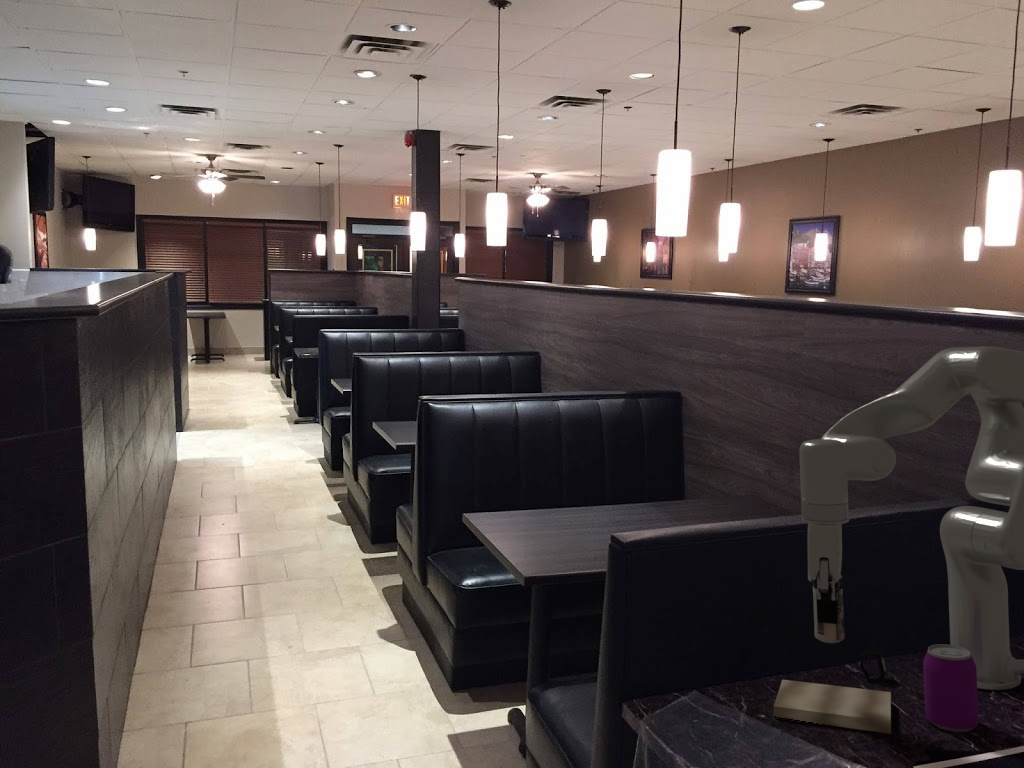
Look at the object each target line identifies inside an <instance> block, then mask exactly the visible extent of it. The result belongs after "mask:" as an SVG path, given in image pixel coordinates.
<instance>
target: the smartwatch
mask: <svg viewBox="0 0 1024 768" xmlns="http://www.w3.org/2000/svg"><path fill="white" fill-rule="evenodd" d="M867 655H871V656H872V655H873V656H875V657H876V663H877V666H878V670H879V673H880V675H877V676H878V679H879V680H882V679H883V678H884V677H885V676H886V674H888V673H887V672H888V671H887V664H886V661H885V658H884V656H883V655H882V654H881V653H880V652H879V651H877V650H866V651H864V652H863V653H861V654H860V655H858V658H857V664H858V666H859V667H860V668H861V670H862V673H863V674H864V676H866V678H867V679H869V675H871V674H869V673H868V671H867V670H866V669H865V666H864V664H863V662H862V657H864V656H867Z"/></svg>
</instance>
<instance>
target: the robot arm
mask: <svg viewBox="0 0 1024 768" xmlns="http://www.w3.org/2000/svg"><path fill="white" fill-rule="evenodd" d="M968 395H971V397H972V398H973V400H974V402H975V404H976V406H977V409H978V412H979V416H980V429H979V433H978V436H977V440H976V442H975V443H976V444H975V447H974V450H973V453H972V455H971V459H970V462H969V465H968V469H967V472H966V476H965V481H964V482H965V483H964V484H965V489H966V491H967V493H968V494H969V495H970V496H971V497H973V498H974V499H976V500H979V501H982V502H984V503H985V502H986V503H990V504H995V505H1002V506H1005V507H1006V506H1007V507H1009V509H1008V511H1007V512H1006V511H1002V510H996V509H994V508H993V509H992V508H986V507H981V506H972V505H960V506H956V507H954V508H952V509H950V510H948V511H947V512H945V514H944V515H943V517H942V519H941V521H940V525H939V536H940V541H941V546H942V549H943V553H944V557H945V561H946V562H945V563H946V571H947V584H948V585H947V587H948V590H947V591H948V611H949V614H948V616H949V641H950V644H949V645H954V646H959V647H962V648H965V649H967V650H969V651H970V653H971V656H972V658H973V660H974V662H975V665H976V667H977V689H978V690H979V689H980V690H990V691H1001V690H1004V691H1005V690H1010V689H1014V688H1017V687H1019V686H1020V685H1021V683H1022V676H1021V674H1024V659H1016V657H1013V655H1012V652H1011V648H1010V624H1009V623H1010V621H1009V619H1010V618H1009V589H1008V582H1007V578H1006V575H1005V573H1004V570H1003V567H1004V568H1008V569H1013V570H1016V571H1017V570H1018V571H1019V570H1020V571H1024V406H1023V404H1022V403H1024V350H1016V349H1012V348H1011V349H1010V348H1005V347H999V346H989V345H987V346H986V345H985V346H984V345H983V346H982V345H981V346H980V345H979V346H958V347H957V346H956V347H948V348H946V349H942V350H940V351H939V352H937V353H935V354H934V355H933V356H932V357H931V358H929V360H927V362H925V363H924V364H923V365H922V366H921V367H920V368H919V369H918V370H916V371H915V372H914V373H913V374H912V375H911V376H909V377H908V379H906V380H905V381H904V382H903V383H902V384H900V386H899V387H898V388H896V389H895V390H893V391H892V392H890V393H888V394H886V395H883V396H881V397H879V398H876V399H875V400H872V401H871V402H869V403H867V404H864V405H862V406H860V407H858V408H856V409H854V410H853V411H851V412H849V413H847V414H846V415H845V416H843V417H842V418H840V419H839V420H838V421H837V422H836V423H835V424H833V426H831V427H830V428H829V429H828V430H827V431H826V432H825V433H824V434H823V435H822V437H820V438H818V439H808V440H805V441H803V442H802V443H800V446H799V452H798V453H799V475H800V476H799V478H800V505H801V507H800V509H801V522H804V523H807V580H808V581H809V582H812V583H813V580H815V578H816V576H817V621H818V622H819V623H830V624H837V623H838V611H837V600H835V583H836V582H838V581H839V578H840V574H841V572H842V561H843V539H842V538H843V532H842V531H843V529H842V525H843V524H846V523H849V521H850V516H849V515H850V514H849V509H850V508H849V491H848V490H849V489H848V488H849V487H848V483H849V482H848V481H865V482H872V481H879V480H882V479H884V478H886V477H888V476H889V474H891V473H892V471H893V470H894V468H895V467H896V464H897V463H896V462H897V456H896V452H895V450H894V449H893V447H892V446H891V444H889V442H887V441H885V440H884V439H887V438H892V437H896V436H900V435H908V434H911V433H915V432H918V431H921V430H924V429H927V428H929V427H931V426H932V425H934V424H935V423H936V422H937V421H938V420H939V419H940V418H941V417H943V416H944V414H945V413H947V412H948V411H949V410H950V409H951V408H952V407H954V406H955V404H957V403H958V402H959V401H960V400H961V399H962V398H964V397H965V396H968ZM829 578H832V581H829ZM829 585H831V587H829Z"/></svg>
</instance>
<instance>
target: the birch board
mask: <svg viewBox="0 0 1024 768" xmlns="http://www.w3.org/2000/svg"><path fill="white" fill-rule="evenodd" d="M774 716H776V717H781V718H787V719H793V720H792V721H794V720H800V721H799V722H801V721H806V722H805V723H808V722H813V723H812V724H816V723H818V725H823V724H825V725H824V726H830V725H831V726H833V727H840V728H845V729H854V730H861V731H868V732H874V733H875V732H876V733H882V734H888V735H889V734H892V693H891V691H883V690H877V689H876V690H874V689H865V688H860V687H859V688H857V687H849V686H840V685H833V684H826V683H825V684H824V683H816V682H815V683H814V682H806V681H797V680H789V679H782V680H781V682H780V686H779V689H778V693H777V695H776V698H775V700H774V705H773V717H774Z"/></svg>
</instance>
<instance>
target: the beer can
mask: <svg viewBox="0 0 1024 768" xmlns="http://www.w3.org/2000/svg"><path fill="white" fill-rule="evenodd" d="M829 581H832V578H829ZM829 587H831V585H829ZM843 592H844V591H843V575H842V574H841V573H840V578H839V581H838V582H836V583H835V600H837V611H838V623H837V624H830V623H819V622H818V621H817V576H816V578H815V580H813V581H812V594H813V595H812V597H813V600H812V601H813V621H814V623H813V624H814V637H815V639H817V640H819V641H820V642H822V643H827V644H838V643H840V642H841V641H843V640H845V621H844V620H845V619H844V616H845V615H844V593H843Z"/></svg>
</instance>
